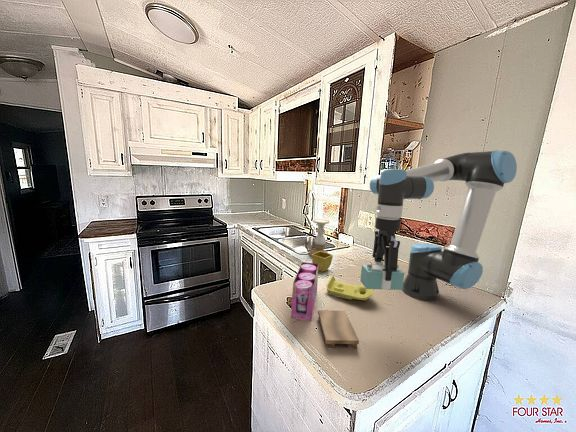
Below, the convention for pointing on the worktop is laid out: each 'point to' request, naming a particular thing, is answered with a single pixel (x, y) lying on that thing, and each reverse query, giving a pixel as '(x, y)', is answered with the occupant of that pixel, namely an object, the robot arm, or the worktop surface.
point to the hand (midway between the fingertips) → (381, 283)
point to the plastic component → (348, 290)
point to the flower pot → (322, 260)
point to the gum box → (304, 291)
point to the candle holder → (319, 237)
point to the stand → (337, 329)
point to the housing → (380, 277)
